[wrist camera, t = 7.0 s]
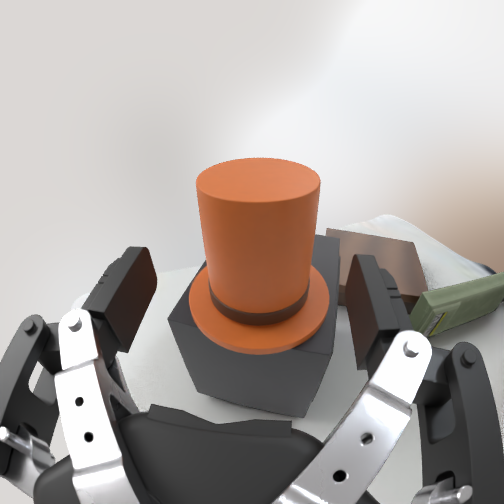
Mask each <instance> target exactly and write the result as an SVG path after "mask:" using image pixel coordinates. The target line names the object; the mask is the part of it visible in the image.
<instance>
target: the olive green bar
mask: <svg viewBox="0 0 504 504" xmlns="http://www.w3.org/2000/svg"><path fill="white" fill-rule="evenodd" d="M503 301H504V272H501V273H498V274H494V275H491V276H487V277H483V278H480V279H476V280H472V281H468V282H464V283H460V284H456V285H452V286H448V287H444V288H439V289H435V290H431V291H426V292H422V294H421V296H420V298H419V299H418V301H417V303H416V305H415V307H414V308H413V310H412V312H411V314H410V315H409V318H410V321H411V324H412V327H413V330H414V331H417V332H419V333H421V334H422V335H423V336H425V337H429V336H432V335H435V334H438V333H441V332H442V331H445V330H448V329H450V328H453V327H456V326H458V325H461V324H464V323H466V322H469V321H471V320H474V319H476V318H479V317H481V316H483V315H486V314H488V313H490V312H493V311H495V310H496V308H497V307H498V305H499V304H500V302H503Z"/></svg>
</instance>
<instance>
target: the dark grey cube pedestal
mask: <svg viewBox="0 0 504 504" xmlns="http://www.w3.org/2000/svg"><path fill="white" fill-rule="evenodd" d="M339 246H340V238H336V237H329V236H323V235H315V238H314V246H313V253H312V261H311V265H312V266H313V267H314V268H315V269H316V270H317V271H318V272H319V273H320V274H321V276H322V277H323V279H324V280H325V282H326V284H327V287H328V291H329V306H328V311H327V315H326V317H325V320H324V322H323V323H322V325H321V327H320V328H319V329H318V330H317V332H316V333H315V334H314V335H313V336H311V337H310V338H309V339H308V340H306V341H305V342H303V343H302V344H300V345H298V346H296V347H294V348H292V349H289V350H286V351H282V352H278V353H273V354H263V355H255V354H245V353H239V352H235V351H232V350H229V349H226V348H224V347H222V346H220V345H218V344H216V343H215V342H213V341H211V340H210V339H209V338H208V337H206V336H205V335H204V334H203V333H202V332H201V330H200V329H199V328H198V327H197V325H196V323H195V322H194V319H193V317H192V314H191V310H190V305H189V293H190V289H191V286H192V283H193V282H194V280H195V278H196V277H197V275H198V274H199V273H200V272H201V271H202V270H203V269H204V268H205V267H206V266H207V262H206V260H205V262H204V263H203V265H202V266H201V268H200V269H199V271H198V272H197V274H196V275H195V277H194V278H193V280H192V281H191V283H190V284H189V286H188V288H187V289H186V291H185V292H184V294H183V295H182V297H181V298H180V300H179V301H178V303H177V304H176V306H175V308H174V309H173V311H172V312H171V314H170V315H169V317H168V322H169V325H170V327H171V330H172V332H173V335H174V338H175V340H176V343H177V345H178V348H179V350H180V353H181V355H182V358H183V360H184V362H185V365H186V367H187V369H188V372H189V374H190V376H191V378H192V381H193V383H194V385H195V387H196V390H197V392H199V393H203V394H206V395H209V396H212V397H215V398H219V399H222V400H226V401H229V402H233V403H236V404H240V405H244V406H248V407H252V408H256V409H261V410H265V411H269V412H274V413H279V414H284V415H289V416H295V417H301V418H304V416H305V414H306V412H307V410H308V408H309V405H310V403H311V402H312V401H313V399H314V397H315V395H316V393H317V390H318V388H319V386H320V383H321V381H322V378H323V376H324V374H325V371H326V369H327V366H328V364H329V361H330V359H331V356H332V353H333V347H334V338H335V329H336V319H337V307H338V295H339V280H340V261H341V256H339Z"/></svg>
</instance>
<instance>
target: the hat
mask: <svg viewBox="0 0 504 504" xmlns="http://www.w3.org/2000/svg"><path fill="white" fill-rule="evenodd" d="M196 188H197V197H198V205H199V212H200V220H201V227H202V234H203V242H204V248H205V255H206V262H207V266H206V267H205V268H204V269H203V270H202V271H201V272H200V273H199V274H198V275H197V277H196V278H195V280H194V282H193V283H192V286H191V289H190V293H189V305H190V310H191V314H192V317H193V319H194V322H195V323H196V325H197V327H198V328H199V329H200V330H201V332H202V333H203V334H204V335H205V336H206V337H208V338H209V339H210V340H211V341H213V342H215V343H216V344H218V345H220V346H222V347H224V348H226V349H229V350H232V351H235V352H239V353H245V354H255V355H263V354H273V353H278V352H282V351H286V350H289V349H292V348H294V347H296V346H298V345H300V344H302V343H303V342H305V341H306V340H308V339H309V338H310V337H311V336H313V335H314V334H315V333H316V332H317V330H318V329H319V328H320V327H321V325H322V323H323V322H324V320H325V317H326V315H327V311H328V306H329V291H328V287H327V284H326V282H325V280H324V279H323V277H322V276H321V274H320V273H319V272H318V271H317V270H316V269H315V268H314V267H313V266H312V265H311V261H312V253H313V246H314V238H315V229H316V221H317V212H318V203H319V193H320V178H319V176H318V174H317V173H316V172H315V171H313V170H312V169H310V168H308V167H306V166H304V165H302V164H299V163H296V162H292V161H287V160H282V159H274V158H245V159H237V160H231V161H226V162H223V163H219V164H217V165H214V166H212V167H209V168H208V169H206V170H204V171H203V172H202V173H201V174H199V176H198V177H197V180H196Z"/></svg>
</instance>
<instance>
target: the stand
mask: <svg viewBox="0 0 504 504" xmlns="http://www.w3.org/2000/svg"><path fill="white" fill-rule="evenodd" d="M326 236H329V237H336V238H340V246H339V256H341V261H340V280H339V295H338V305H343V306H346V300H345V286H346V282H347V278H348V274H349V270H350V266H351V262H352V258H353V256H354V254H364V255H374V256H375V259H376V261H377V264H378V266H379V268H385V269H386V270H387V271H388V272H389V273H390V274H391V275H392V276H393V277H394V279H395V282H396V284H397V287H398V290H399V292H400V294H401V299H403V302H404V305H405V307H406V310H407V313H408V315H410V314H411V312H412V310H413V308H414V307H415V305H416V303H417V301H418V299H419V298H420V296H421V294H422V292H426V291H428V288H427V284H426V281H425V277H424V274H423V270H422V267H421V264H420V260H419V257H418V254H417V251H416V248H415V245H414V243H413V242H408V241H402V240H397V239H391V238H385V237H379V236H373V235H367V234H361V233H355V232H349V231H342V230H336V229H329V228H327V230H326Z"/></svg>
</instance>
